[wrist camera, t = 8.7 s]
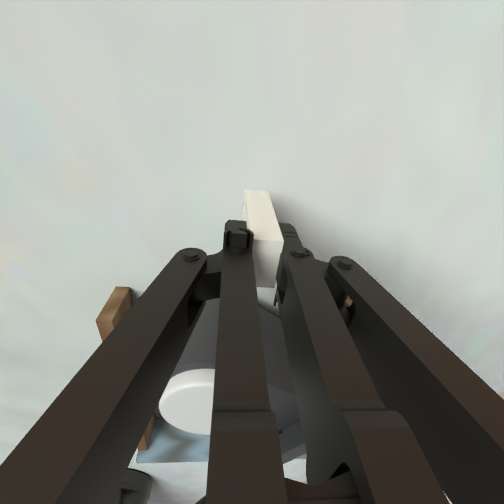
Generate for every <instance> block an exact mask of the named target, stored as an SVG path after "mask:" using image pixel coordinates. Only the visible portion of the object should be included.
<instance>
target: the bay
mask: <svg viewBox="0 0 504 504" xmlns="http://www.w3.org/2000/svg"><path fill="white" fill-rule="evenodd" d="M346 302H347V303H348V304H349V305H351V304H352V300H351V299H350V298H349V297H348V298H347V300H346ZM132 306H133V302H132V297H131V292H130V287H116V288H115V289H114V291H113V293H112V294H111V296H110V297H109V299H108V301H107V302H106V304H105V306H104V307H103V309H102V311H101V312H100V314H99V316H98V317H97V319H96V323H97V326H98V329H99V332H100V335H101V338H102V341H104V340H105V339H106V338H107V336H108V335H109V334H110V333H111V332H112V330H113V329H114V328H115V327H116V326H117V324H118V323H119V322H120V321H121V320H122V318H123V317H124V316H125V315H126V313H127V312H128V311H129V310H130V309H131V307H132ZM209 446H210V435H202V434H195V433H190V432H186V431H183V430H181V429H178V428H176V427H174V426H173V425H171V424H170V423H168V422H167V421H166V420H165V419H164V418H163V417H156V416H155V411H154V413H153V415H152V417H151V420H150V422H149V424H148V426H147V428H146V430H145V432H144V434H143V436H142V438H141V440H140V442H139V445H138V447H137V448H138V454H137V457H136V462H137V463H167V462H203V461H209ZM295 459H307V454H304V455H302V456H300V457H297V458H295Z"/></svg>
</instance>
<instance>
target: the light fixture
mask: <svg viewBox="0 0 504 504" xmlns="http://www.w3.org/2000/svg"><path fill="white" fill-rule="evenodd" d="M219 302H220V298H216V299H211V300H206V305H205V307H204V309H203V311H202V313H201V315H200V317H199V320H198V322H197V324H196V326H195V328H194V330H193V332H192V334H191V336H190V338H189V340H188V342H187V345H186V347H185V349H184V351H183V353H182V355H181V357H180V359H179V361H178V363H177V365H176V367H175V370H174V372H173V374H172V376H171V378H170V380H169V382H168V384H167V386H166V388H165V390H164V392H163V395H162V397H161V399H160V401H159V410H160V413H161V415H162V416H163V418H164V419H165V420H166V421H167V422H168V423H170V424H171V425H173V426H174V427H176V428H178V429H181V430H183V431H186V432H190V433H195V434H202V435H210V432H211V418H212V406H213V391H214V377H215V362H216V347H217V332H218V317H219ZM258 307H259V306H258ZM259 316H260V325H261V333H262V342H263V351H264V360H265V369H266V378H267V386H268V395H269V403H270V407H271V410H272V411H273V412H274V413H275V416H276V420H277V426H278V433H279V441H280V448H281V456H282V464H284V463H286V462H289V461H291V460H293V459H295V458H297V457H300V456H302V455H304V454H306V446H305V440H304V435H303V430H302V425H301V420H300V415H299V410H298V405H297V400H296V395H295V390H294V384H293V379H292V374H291V369H290V364H289V359H288V354H287V349H286V344H285V339H284V334H283V328H282V323H281V319H280V318H278V317H276V316H275V315H273V314H271V313H269V312H268V311H266V310H264V309H262V308H261V307H259Z"/></svg>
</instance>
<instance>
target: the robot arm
mask: <svg viewBox="0 0 504 504" xmlns="http://www.w3.org/2000/svg"><path fill="white" fill-rule="evenodd" d="M276 281H277V290H276V294H275V299H274V305H273V306H276V302H277V303H278V308H279V313H280V318H281V323H282V328H283V334H284V339H285V344H286V349H287V354H288V359H289V364H290V369H291V374H292V379H293V384H294V390H295V395H296V400H297V405H298V410H299V415H300V420H301V425H302V430H303V435H304V440H305V446H306V454H307V459H306V478H307V484H304V483H301V482H298V481H294V480H291V479H288V478H285V477H284V471H283V464H282V456H281V448H280V441H279V433H278V426H277V420H276V416H275V413H274V412H273V411H272V410H271V407H270V403H269V395H268V386H267V378H266V369H265V360H264V351H263V342H262V333H261V325H260V316H259V307H258V298H257V289H256V287H270V288H274V287H275V282H276ZM348 296H349V298H350V299H351V300H352V304H351V305H349V304H348V303H347V302H346V300H347V298H348ZM216 298H220V302H219V317H218V332H217V347H216V362H215V377H214V391H213V406H212V418H211V432H210V446H209V461H208V476H207V490H206V496H204V497H203V498H202V499H201V500H199V501H198V502H197V503H196V504H449V502H448V500H447V498H446V496H445V494H446V495H447V497H448V498H449V499H450V501H451V502H452V504H504V400H503V399H502V398H501V397H500V396H499V395H498V394H497V393H496V392H495V391H494V390H493V389H492V388H490V387H489V386H488V385H487V384H486V383H485V382H484V381H483V380H482V379H481V378H480V377H479V376H478V375H477V374H475V373H474V372H473V371H472V370H471V369H470V368H469V367H468V366H467V365H466V364H465V363H464V362H463V361H461V360H460V359H459V358H458V357H457V356H456V355H455V354H454V353H453V352H452V351H451V350H450V349H449V348H448V347H446V346H445V345H444V344H443V343H442V342H441V341H440V340H439V339H438V338H437V337H436V336H435V335H434V334H433V333H431V332H430V331H429V330H428V329H427V328H426V327H425V326H424V325H423V324H422V323H421V322H420V321H419V320H418V319H416V318H415V317H414V316H413V315H412V314H411V313H410V312H409V311H408V310H407V309H406V308H405V307H404V306H403V305H401V304H400V303H399V302H398V301H397V300H396V299H395V298H394V297H393V296H392V295H391V294H390V293H389V292H388V291H386V290H385V289H384V288H383V287H382V286H381V285H380V284H379V283H378V282H377V281H376V280H375V279H374V278H372V277H371V276H370V275H369V274H368V273H367V272H366V271H365V270H364V269H363V268H362V267H361V266H360V265H359V264H357V263H356V262H355V261H353V260H352V259H350V258H348V257H344V256H334V257H332V258H331V259H330V262H329V263H327V262H323V261H319V260H316V259H315V258H314V256H313V254H312V253H311V251H309V250H308V249H306V248H304V247H303V246H302V244H301V242H300V239H299V237H298V235H297V232H296V230H295V228H294V227H293V226H292V225H290V224H287V223H278V221H277V218H276V215H275V212H274V209H273V206H272V203H271V200H270V197H269V193H268V191H262V190H250V189H245V197H244V208H243V218H242V221H237V220H228V221H227V222H226V223H225V232H224V242H223V249H222V250H221V251H220V252H219V253H217V254H214V255H208V256H207V254H206V252H204V251H203V250H201V249H198V248H185V249H182V250H180V251H179V252H177V253H176V254H175V256H174V257H173V258H172V259H171V260H170V262H169V263H168V264H167V265H166V266H165V268H164V269H163V270H162V271H161V272H160V274H159V275H158V276H157V277H156V278H155V280H154V281H153V282H152V283H151V285H150V286H149V287H148V288H147V289H146V291H145V292H144V293H143V294H142V295H141V297H140V298H139V299H138V300H137V301H136V303H135V304H134V305H133V306H132V307H131V309H130V310H129V311H128V312H127V313H126V315H125V316H124V317H123V318H122V320H121V321H120V322H119V323H118V324H117V326H116V327H115V328H114V329H113V330H112V332H111V333H110V334H109V335H108V336H107V338H106V339H105V340H104V341H103V342H102V344H101V345H100V346H99V347H98V349H97V350H96V351H95V352H94V353H93V355H92V356H91V357H90V358H89V359H88V361H87V362H86V363H85V364H84V365H83V367H82V368H81V369H80V370H79V371H78V373H77V374H76V375H75V376H74V377H73V379H72V380H71V381H70V382H69V384H68V385H67V386H66V387H65V388H64V390H63V391H62V392H61V393H60V394H59V396H58V397H57V398H56V399H55V400H54V402H53V403H52V404H51V405H50V406H49V408H48V409H47V410H46V411H45V412H44V414H43V415H42V416H41V417H40V419H39V420H38V421H37V422H36V423H35V425H34V426H33V427H32V428H31V429H30V431H29V432H28V433H27V434H26V435H25V437H24V438H23V439H22V440H21V441H20V443H19V444H18V445H17V446H16V447H15V449H14V450H13V451H12V452H11V454H10V455H9V456H8V457H7V458H6V460H5V461H4V462H3V463H2V464H1V466H0V504H146V503H147V501H148V499H149V496H150V492H151V487H152V479H151V478H150V477H149V476H147V475H146V474H143V473H141V472H138V471H134V470H129V469H127V467H128V465H129V463H130V461H131V459H132V457H133V455H134V453H135V451H136V449H137V447H138V445H139V442H140V440H141V438H142V436H143V434H144V432H145V430H146V428H147V426H148V424H149V422H150V420H151V417H152V415H153V413H154V411H155V409H156V407H157V405H158V403H159V401H160V399H161V397H162V395H163V392H164V390H165V388H166V386H167V384H168V382H169V380H170V378H171V376H172V374H173V372H174V370H175V367H176V365H177V363H178V361H179V359H180V357H181V355H182V353H183V351H184V349H185V347H186V345H187V342H188V340H189V338H190V336H191V334H192V332H193V330H194V328H195V326H196V324H197V322H198V320H199V317H200V315H201V313H202V311H203V309H204V307H205V305H206V300H211V299H216ZM443 491H444V492H443ZM444 493H445V494H444Z"/></svg>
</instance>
